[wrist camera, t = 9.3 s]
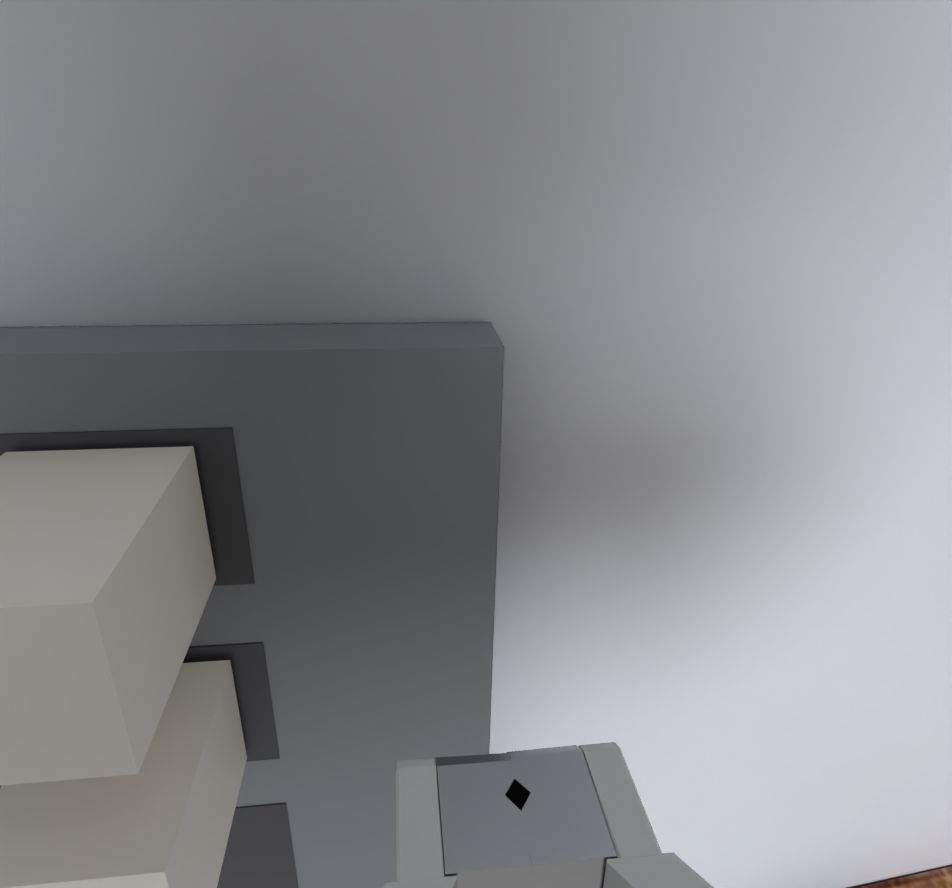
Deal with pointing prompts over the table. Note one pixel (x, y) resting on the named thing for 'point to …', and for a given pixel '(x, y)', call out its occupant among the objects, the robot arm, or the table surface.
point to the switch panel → (311, 549)
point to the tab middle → (138, 803)
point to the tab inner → (95, 604)
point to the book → (919, 880)
